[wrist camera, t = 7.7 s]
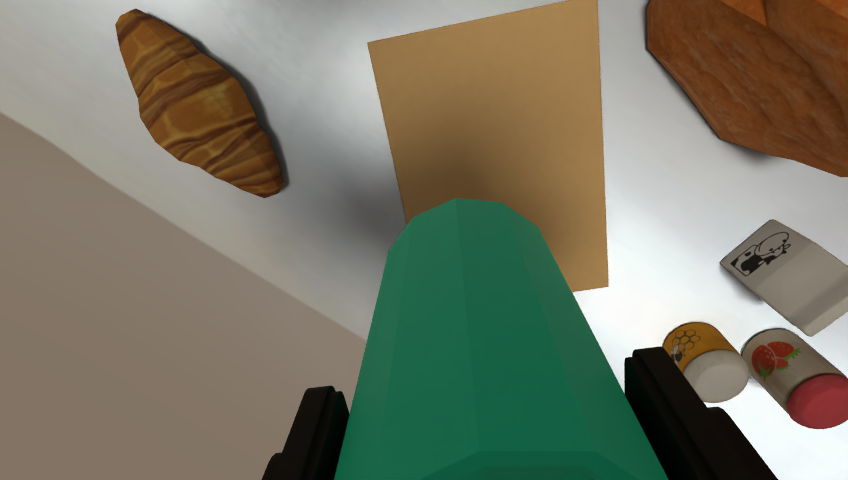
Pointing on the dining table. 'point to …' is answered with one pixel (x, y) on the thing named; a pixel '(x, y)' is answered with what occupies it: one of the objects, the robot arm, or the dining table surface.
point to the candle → (485, 364)
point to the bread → (762, 72)
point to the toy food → (775, 349)
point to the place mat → (505, 123)
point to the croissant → (196, 106)
